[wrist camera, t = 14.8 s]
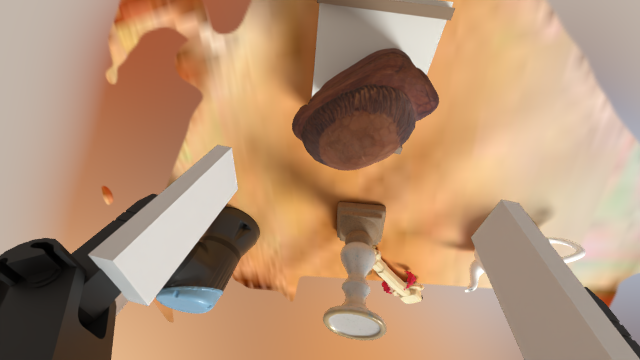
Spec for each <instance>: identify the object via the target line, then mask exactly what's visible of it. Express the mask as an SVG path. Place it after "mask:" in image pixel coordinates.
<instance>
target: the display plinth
mask: <svg viewBox="0 0 640 360" xmlns="http://www.w3.org/2000/svg"><path fill="white" fill-rule="evenodd" d="M317 3H320V5H319V17H318V29H317V41H316V53H315V65H314V77H313V89H312V97H313V95H314V94H315V93H316V92H317V91H319V90H320V89H321V87H322V86H323V85H324V84H325V83H326V82H327V81H329V80H330V79H332V78H333V77H334V76H336V75H337V74H339V73H340V72H342V71H344V70H345V69H347V68H349V67H350V66H352V65H354V64H355V63H357V62H358V61H360V60H361V59H363V58H365V57H366V56H368V55H370V54H372V53H374V52H376V51H378V50H382V49H389V48H396V49H399V50H401V51H403V52H405V53H406V54H407V55H408V56H409V57H410V59H411V61H412V63H413V64H414V65H415V66H416V68H419V69H421V70H422V71H423V72H424V73H425V74H426V75H427V73H428V70H429V67H430V64H431V62H432V59H433V56H434V53H435V51H436V48H437V45H438V43H439V40H440V37H441V34H442V32H443V29H444V26H445V24H446V21H447V20H451V18H452V15H453V13H454V10H455V8H451V7H452V4H453V2H447V1H439V0H317ZM401 151H402V145H401V146H400V147H399V148H398V149H397V150H396V151H395V152H394V153H396V154H401Z"/></svg>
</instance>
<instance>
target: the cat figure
mask: <svg viewBox="0 0 640 360" xmlns="http://www.w3.org/2000/svg"><path fill="white" fill-rule="evenodd" d="M375 248H376V245H373V246H372V249H373V250H374V252H375V254H376V262H375V264H374V266H373V269H374V270H375V271H376V273H377V274H378V275H379V276H380V277H381V278H382V279H384V282H383V283H382V286H383V287H384V291H386V293H390V294H391V292H389V291H390V288H389V287H388V285H387V283H388V284H389V285H390V286H391V287H392V288H393V289H394V291H393V294H394V296H398V295H399V297H400V299H401V300H402V301H403V302H404V303H406V304H411V303H416V302H420V301H422V299H423V297H422V295H421V290H422V289H424V286H423V285H421V284H420V285H419V284H417V282H416V283H414V282H415V280H416V278H415V277H414V275H413V274H412V273H411V272H409V271H404V272H406V273H407V274H409V275H408V278H407V282H408V283H407V284H406V283H405V282H403V281H402V280H401V279H400V278H399V277H398V276H396V275H395V274H394V273H393V272H392V271H391V270H390V269H389V268H388V267H387V265H386V264H385V263H384V262H383V261H382V260H381V252H380V251H379V250H376V249H375ZM371 272H372V271H371V270H370V271H369V273H368V274H367V275H370V274H371Z"/></svg>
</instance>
